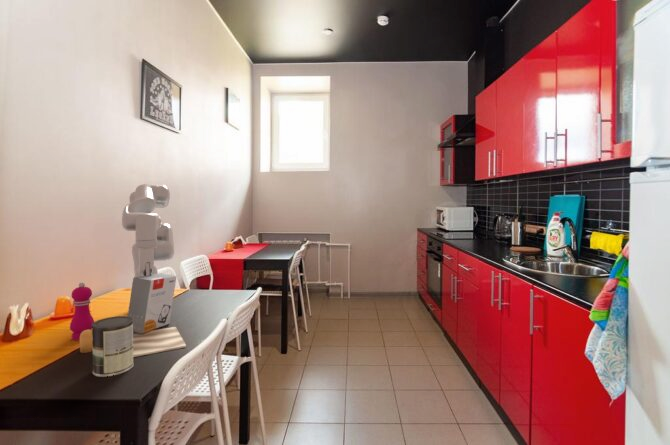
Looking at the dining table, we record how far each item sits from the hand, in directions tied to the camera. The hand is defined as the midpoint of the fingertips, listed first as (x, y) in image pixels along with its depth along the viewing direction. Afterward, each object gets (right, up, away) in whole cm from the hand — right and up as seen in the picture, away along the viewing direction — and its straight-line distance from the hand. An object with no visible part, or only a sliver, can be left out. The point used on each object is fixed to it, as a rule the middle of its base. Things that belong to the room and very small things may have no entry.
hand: (146, 289), depth 140 cm
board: (+11, -15, -17) cm, 25 cm away
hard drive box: (+3, -14, -5) cm, 15 cm away
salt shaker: (-6, -15, -25) cm, 30 cm away
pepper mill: (-16, -15, -13) cm, 26 cm away
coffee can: (+11, -16, -38) cm, 42 cm away
